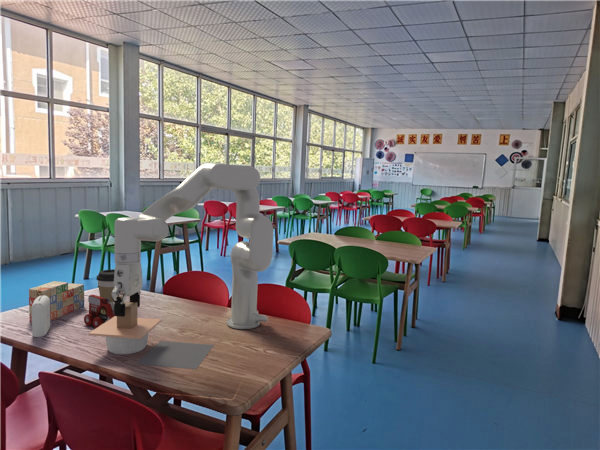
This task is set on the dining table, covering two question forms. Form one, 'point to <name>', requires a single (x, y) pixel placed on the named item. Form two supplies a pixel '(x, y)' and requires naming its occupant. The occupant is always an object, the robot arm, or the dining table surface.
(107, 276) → the coffee cup
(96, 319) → the toy fire truck
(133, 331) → the cover
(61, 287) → the stack of blocks
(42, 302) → the photo printer
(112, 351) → the ramekin
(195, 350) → the mat
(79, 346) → the dining table surface
